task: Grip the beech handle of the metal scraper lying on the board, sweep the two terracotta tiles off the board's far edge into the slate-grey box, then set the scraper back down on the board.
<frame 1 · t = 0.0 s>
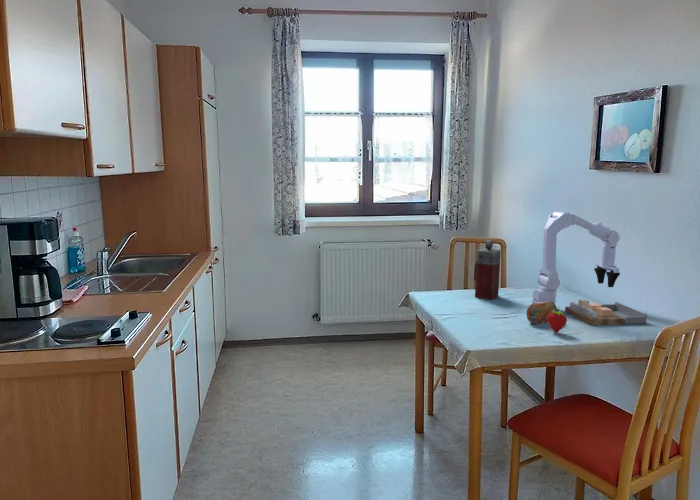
hand: (605, 285, 244), 10 cm above the table, tool pointing down, fingers open, 7 cm apart
tin: (540, 322, 221), on the table
brown rectangular bottle: (484, 296, 263), on the table
scraper: (582, 312, 226), point 2 cm above the table, touching board
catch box: (619, 317, 229), on the table
tile b: (593, 310, 230), point 2 cm above the table, touching board
strawberry: (555, 332, 207), on the table
tile a: (603, 314, 223), point 2 cm above the table, touching board
board: (593, 318, 227), on the table
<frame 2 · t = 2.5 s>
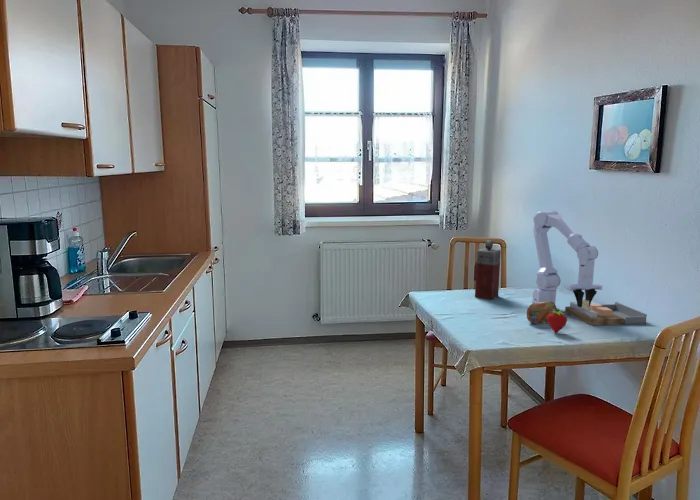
hand: (583, 306, 225), 5 cm above the table, tool pointing down, fingers closed on scraper, 3 cm apart
scraper: (582, 312, 226), point 2 cm above the table, touching board, gripper
everything else where it was.
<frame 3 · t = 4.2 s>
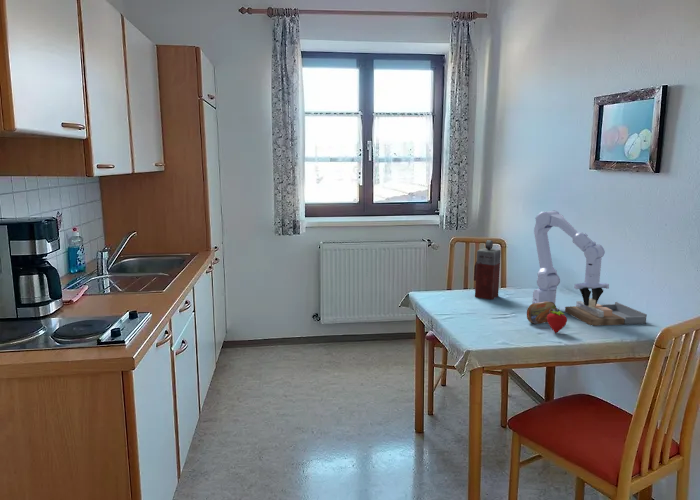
hand: (590, 305, 226), 6 cm above the table, tool pointing down, fingers closed on scraper, 3 cm apart
scraper: (589, 311, 226), point 3 cm above the table, touching gripper
everything else where it was.
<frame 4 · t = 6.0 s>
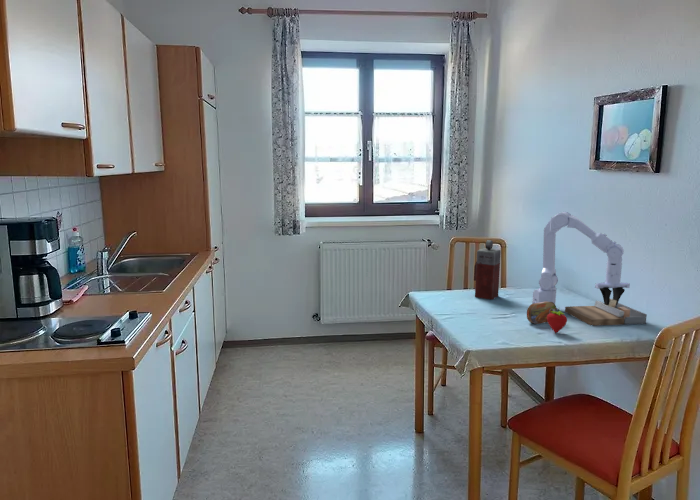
hand: (610, 304, 227), 6 cm above the table, tool pointing down, fingers closed on scraper, 3 cm apart
scraper: (608, 311, 228), point 3 cm above the table, tilted 11°, touching board, gripper, tile b
tile b: (609, 311, 232), point 2 cm above the table, tilted 27°, touching scraper
tile a: (620, 313, 224), point 3 cm above the table, tilted 90°, touching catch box
everything else where it was.
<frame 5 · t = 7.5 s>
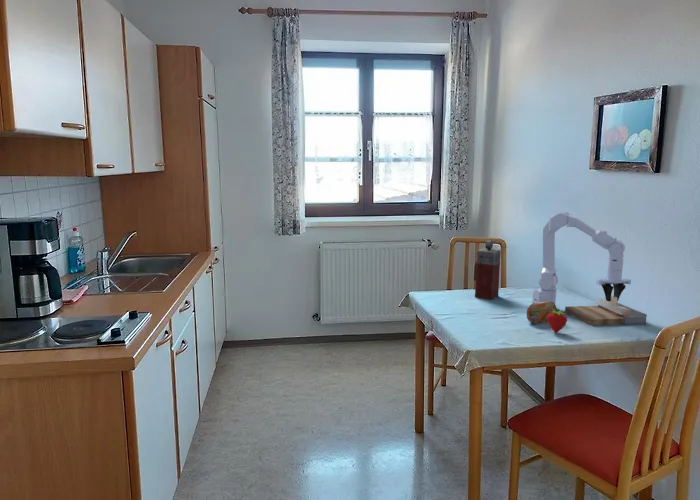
hand: (611, 300, 227), 7 cm above the table, tool pointing down, fingers closed on scraper, 3 cm apart
scraper: (610, 309, 228), point 4 cm above the table, touching gripper
tile b: (611, 313, 232), point 1 cm above the table, touching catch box
everything else where it was.
when the fingers open (6 cm above the table, at t = 8.9 s): scraper stays where it is, resting on board.
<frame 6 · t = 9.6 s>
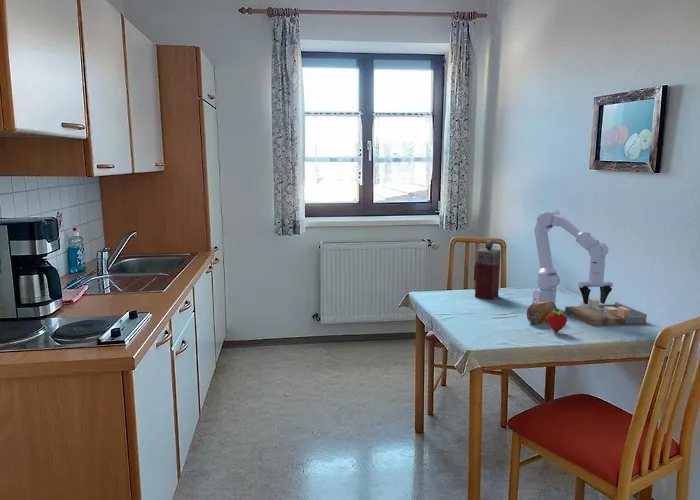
hand: (594, 303, 226), 6 cm above the table, tool pointing down, fingers open, 7 cm apart
scraper: (592, 312, 227), point 2 cm above the table, touching board
everything else where it was.
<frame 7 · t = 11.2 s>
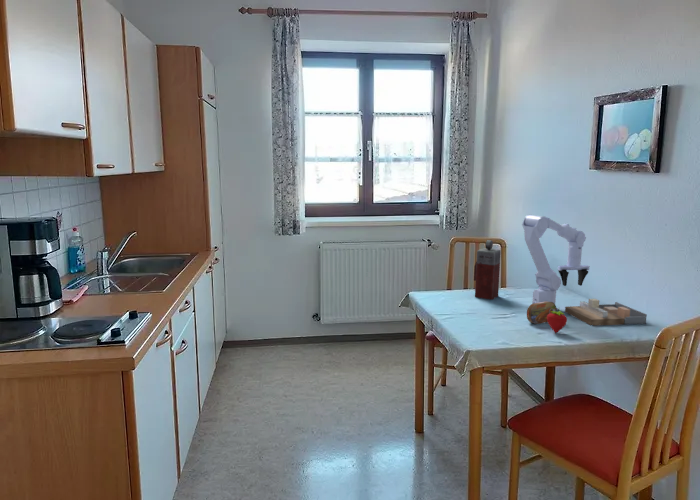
hand: (572, 285, 246), 9 cm above the table, tool pointing down, fingers open, 7 cm apart
nothing on the table moved.
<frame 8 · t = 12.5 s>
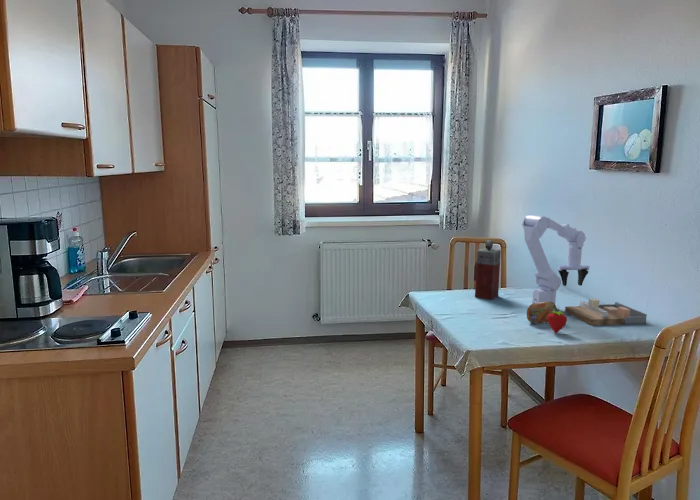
hand: (572, 285, 246), 9 cm above the table, tool pointing down, fingers open, 7 cm apart
nothing on the table moved.
at the end: tile a inside the target area on the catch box (4.5 cm from its centre), point 2.7 cm above the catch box's base; tile b inside the target area on the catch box (4.3 cm from its centre), point 0.5 cm above the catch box's base; scraper tilted 0° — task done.
